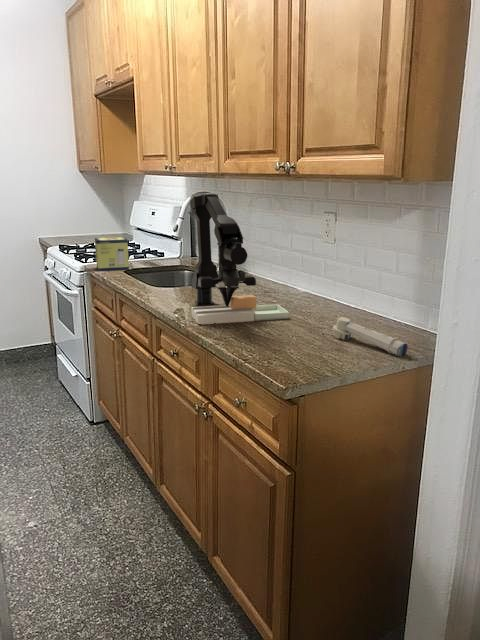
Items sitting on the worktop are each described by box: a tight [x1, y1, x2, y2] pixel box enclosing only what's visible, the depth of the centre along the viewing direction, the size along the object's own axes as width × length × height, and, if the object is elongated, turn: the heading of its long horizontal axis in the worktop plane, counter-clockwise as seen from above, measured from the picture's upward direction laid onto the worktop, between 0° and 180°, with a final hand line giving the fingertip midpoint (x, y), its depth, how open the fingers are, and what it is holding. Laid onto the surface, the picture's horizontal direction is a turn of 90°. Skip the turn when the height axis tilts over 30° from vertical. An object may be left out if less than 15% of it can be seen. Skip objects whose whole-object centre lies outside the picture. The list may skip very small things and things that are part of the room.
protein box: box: [94, 236, 130, 272], centre depth 279 cm, size 10×16×16 cm
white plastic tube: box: [332, 316, 409, 357], centre depth 158 cm, size 5×7×25 cm
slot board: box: [191, 304, 255, 325], centre depth 186 cm, size 12×19×4 cm, turn 105°
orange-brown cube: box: [229, 295, 245, 309], centre depth 187 cm, size 4×4×4 cm
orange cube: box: [242, 294, 257, 309], centre depth 188 cm, size 4×4×4 cm
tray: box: [252, 303, 290, 322], centre depth 191 cm, size 12×12×2 cm
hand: (227, 306), depth 186 cm, fingers closed
